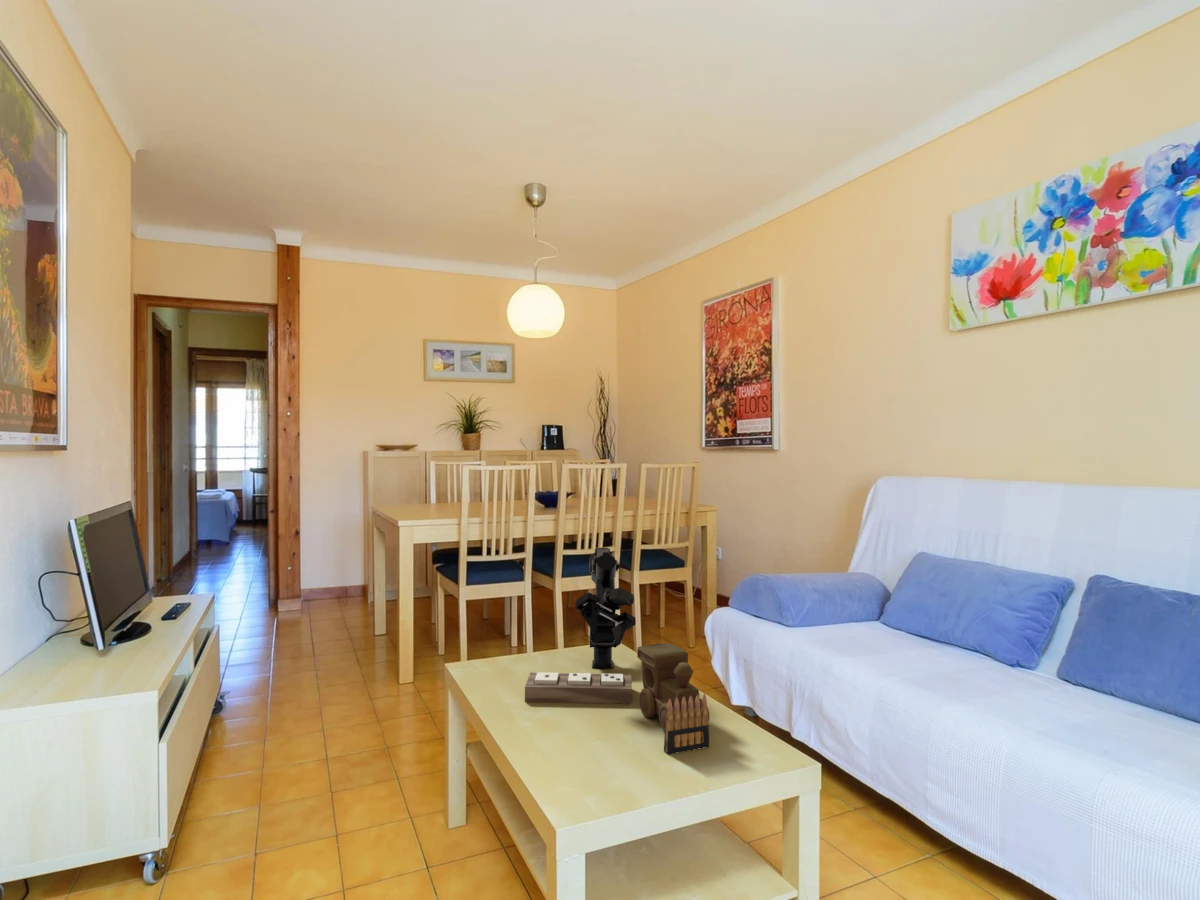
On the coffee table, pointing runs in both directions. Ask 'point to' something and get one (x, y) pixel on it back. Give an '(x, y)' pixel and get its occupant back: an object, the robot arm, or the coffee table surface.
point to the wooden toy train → (665, 679)
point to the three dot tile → (612, 679)
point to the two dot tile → (579, 679)
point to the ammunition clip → (686, 726)
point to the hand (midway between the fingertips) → (606, 638)
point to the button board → (578, 691)
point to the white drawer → (546, 678)
